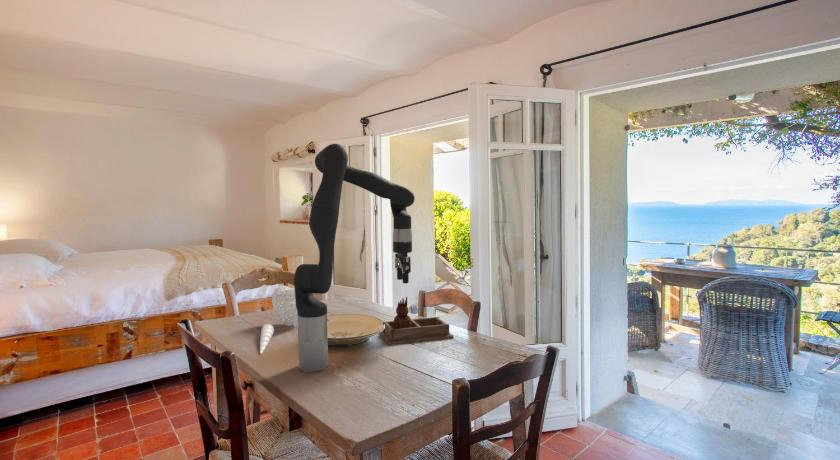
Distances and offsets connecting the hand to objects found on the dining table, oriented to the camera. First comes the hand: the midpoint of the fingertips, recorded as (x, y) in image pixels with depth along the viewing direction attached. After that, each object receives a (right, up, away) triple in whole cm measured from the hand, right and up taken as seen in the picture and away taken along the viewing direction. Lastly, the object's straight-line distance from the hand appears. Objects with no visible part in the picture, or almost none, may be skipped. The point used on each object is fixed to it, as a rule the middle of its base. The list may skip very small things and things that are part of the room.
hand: (402, 281), depth 161 cm
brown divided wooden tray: (+5, -22, +3) cm, 23 cm away
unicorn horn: (-52, -23, -5) cm, 57 cm away
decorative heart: (-50, -22, +18) cm, 57 cm away
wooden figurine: (0, -21, +1) cm, 21 cm away
